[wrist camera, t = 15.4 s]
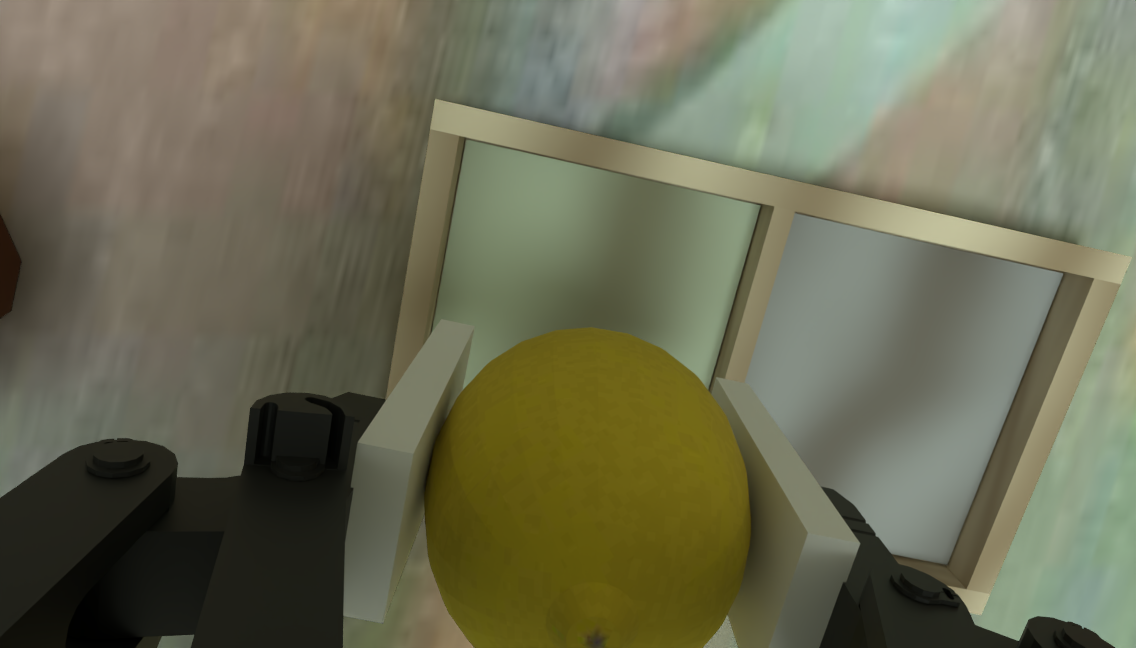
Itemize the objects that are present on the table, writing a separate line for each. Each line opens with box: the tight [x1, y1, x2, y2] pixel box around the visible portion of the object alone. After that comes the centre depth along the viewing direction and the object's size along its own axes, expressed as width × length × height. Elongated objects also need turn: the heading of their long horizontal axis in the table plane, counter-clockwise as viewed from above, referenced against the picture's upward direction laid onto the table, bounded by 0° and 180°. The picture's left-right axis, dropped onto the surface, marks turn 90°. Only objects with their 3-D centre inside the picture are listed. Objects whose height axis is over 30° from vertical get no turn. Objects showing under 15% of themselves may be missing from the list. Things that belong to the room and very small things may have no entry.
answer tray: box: [386, 99, 1132, 615], centre depth 23 cm, size 20×12×2 cm, turn 78°
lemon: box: [424, 327, 751, 648], centre depth 13 cm, size 6×6×8 cm
